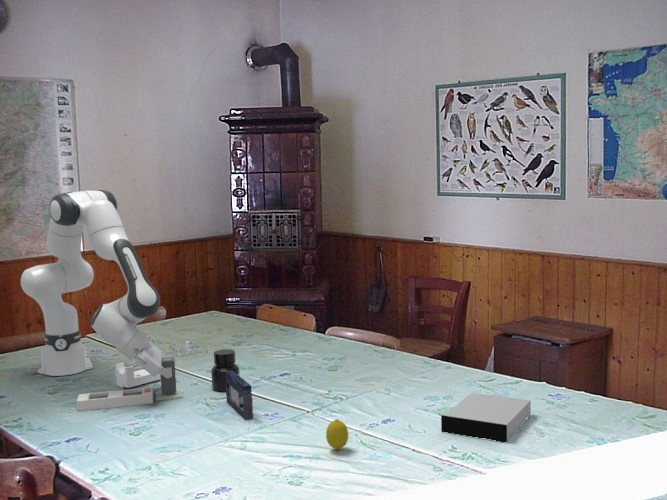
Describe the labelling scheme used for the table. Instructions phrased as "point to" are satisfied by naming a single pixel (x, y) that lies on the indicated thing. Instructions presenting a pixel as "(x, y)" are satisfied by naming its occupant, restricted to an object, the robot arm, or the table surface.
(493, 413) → the disc drive
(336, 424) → the lemon
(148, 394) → the power strip
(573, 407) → the table surface
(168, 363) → the grey square pillar
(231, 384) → the vhs cassette tape
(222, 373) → the ink bottle
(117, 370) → the bracket
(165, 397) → the felt pad
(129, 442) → the table surface
